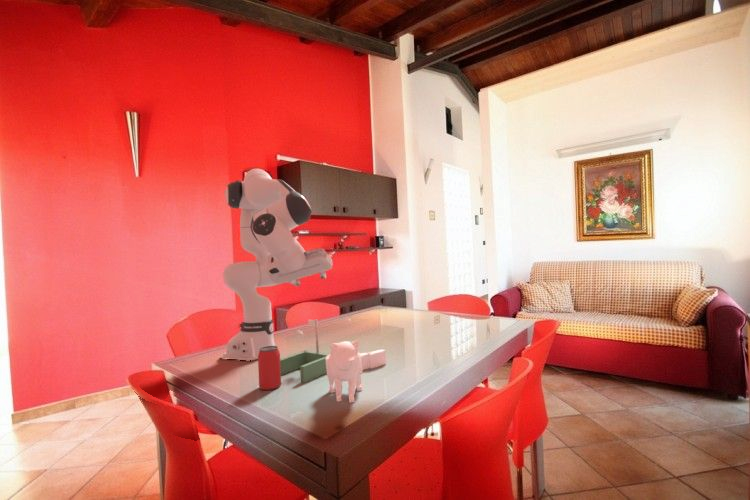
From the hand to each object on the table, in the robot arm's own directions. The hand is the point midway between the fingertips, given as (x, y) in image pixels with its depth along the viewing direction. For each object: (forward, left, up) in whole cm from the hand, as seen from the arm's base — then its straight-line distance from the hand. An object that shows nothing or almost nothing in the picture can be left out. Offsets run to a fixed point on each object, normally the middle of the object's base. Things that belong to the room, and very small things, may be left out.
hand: (311, 280), depth 119 cm
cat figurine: (+14, -15, -32) cm, 38 cm away
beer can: (-11, -10, -32) cm, 35 cm away
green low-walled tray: (-5, +2, -32) cm, 32 cm away
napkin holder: (+16, +10, -32) cm, 38 cm away
